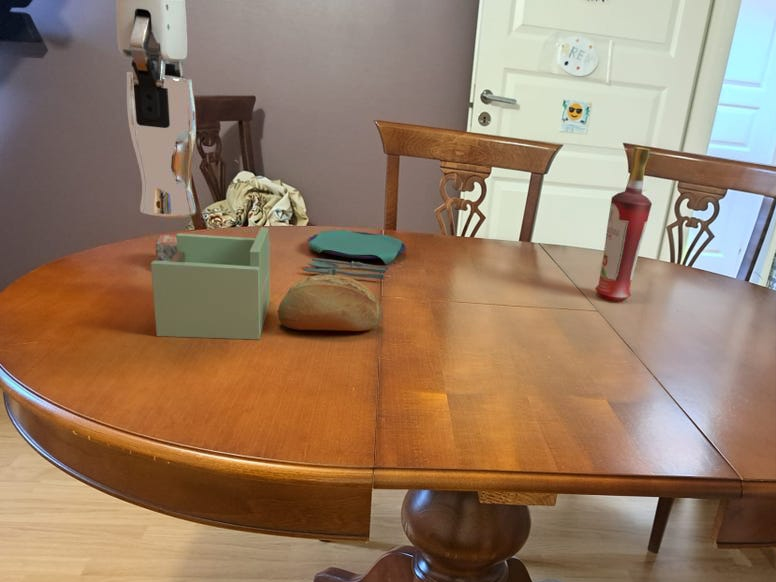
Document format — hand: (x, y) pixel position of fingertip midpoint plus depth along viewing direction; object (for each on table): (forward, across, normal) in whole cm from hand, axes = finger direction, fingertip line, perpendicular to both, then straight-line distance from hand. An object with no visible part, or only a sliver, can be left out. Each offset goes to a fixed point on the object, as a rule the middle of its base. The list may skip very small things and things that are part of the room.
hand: (162, 121), depth 75 cm
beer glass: (+10, 0, 0) cm, 10 cm away
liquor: (+27, -32, +72) cm, 83 cm away
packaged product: (+28, -37, -2) cm, 46 cm away
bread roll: (+28, -9, +19) cm, 35 cm away
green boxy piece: (+28, -11, +3) cm, 30 cm away
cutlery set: (+28, -48, +22) cm, 59 cm away
